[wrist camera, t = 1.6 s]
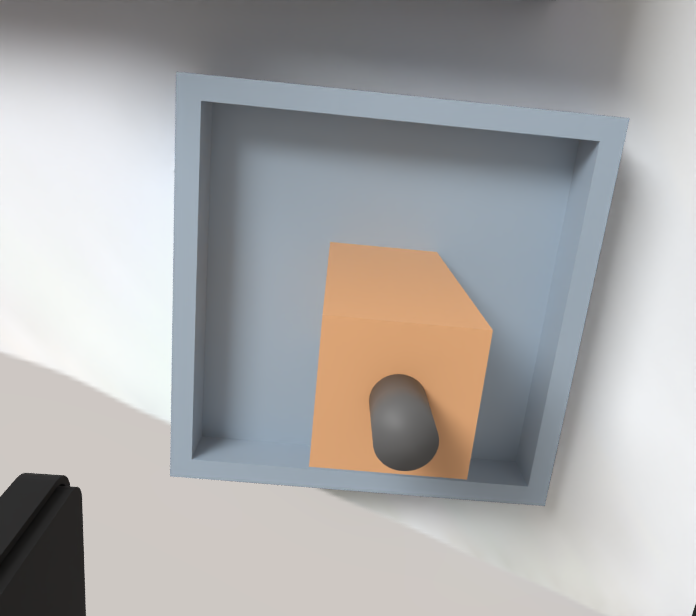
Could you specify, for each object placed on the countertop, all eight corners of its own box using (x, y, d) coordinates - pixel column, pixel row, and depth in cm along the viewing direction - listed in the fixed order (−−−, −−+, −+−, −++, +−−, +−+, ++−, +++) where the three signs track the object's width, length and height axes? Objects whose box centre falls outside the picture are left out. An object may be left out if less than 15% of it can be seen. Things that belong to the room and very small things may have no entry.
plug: (436, 252, 23) (515, 362, 12) (422, 351, 24) (484, 529, 14) (329, 241, 23) (319, 345, 12) (321, 342, 24) (304, 515, 14)
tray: (597, 118, 22) (629, 118, 20) (525, 470, 27) (544, 505, 24) (195, 77, 22) (176, 71, 19) (186, 442, 26) (170, 476, 24)
